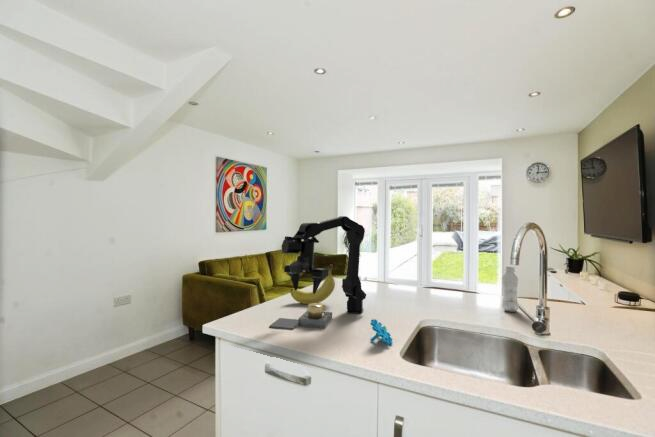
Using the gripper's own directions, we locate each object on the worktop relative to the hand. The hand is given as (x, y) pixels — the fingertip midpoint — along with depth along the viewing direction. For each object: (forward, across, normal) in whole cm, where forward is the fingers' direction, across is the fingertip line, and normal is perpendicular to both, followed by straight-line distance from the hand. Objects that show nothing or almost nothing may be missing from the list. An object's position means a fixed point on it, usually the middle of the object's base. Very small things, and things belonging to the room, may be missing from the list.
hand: (304, 291), depth 127 cm
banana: (+12, -13, +25) cm, 31 cm away
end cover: (+12, +4, +3) cm, 13 cm away
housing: (+12, +4, +3) cm, 13 cm away
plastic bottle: (+7, +71, +61) cm, 94 cm away
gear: (+12, +34, -1) cm, 37 cm away
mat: (+13, -5, -5) cm, 15 cm away
